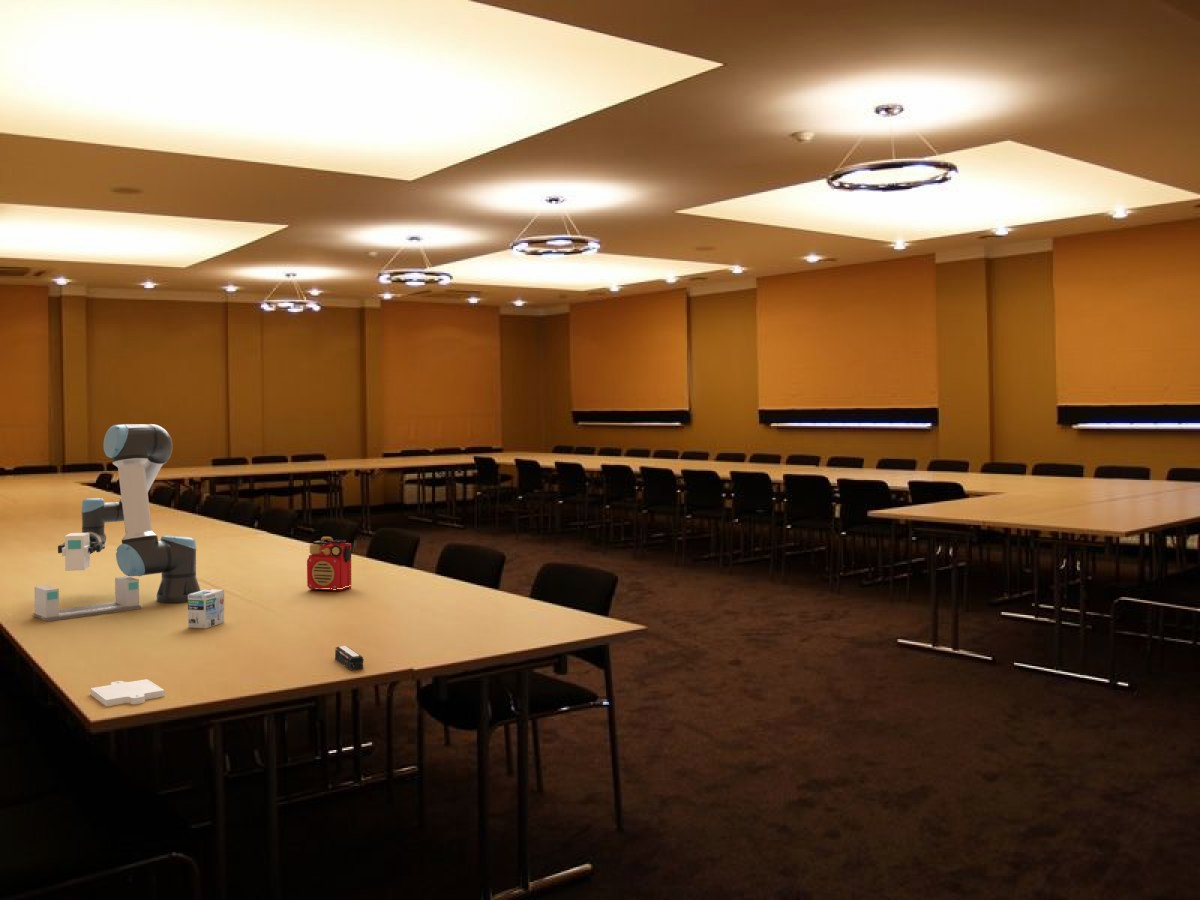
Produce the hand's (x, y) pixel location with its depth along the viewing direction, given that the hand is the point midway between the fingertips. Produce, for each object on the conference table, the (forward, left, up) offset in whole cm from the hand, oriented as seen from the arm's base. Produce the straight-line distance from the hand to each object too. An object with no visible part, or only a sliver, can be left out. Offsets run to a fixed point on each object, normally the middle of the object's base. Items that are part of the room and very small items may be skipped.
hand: (74, 551), depth 343 cm
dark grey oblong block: (-109, +76, -21) cm, 135 cm away
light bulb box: (-53, +26, -20) cm, 63 cm away
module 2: (-16, -5, -20) cm, 26 cm away
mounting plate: (-62, +107, -21) cm, 126 cm away
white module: (+1, -5, -7) cm, 8 cm away
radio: (-78, -39, -20) cm, 90 cm away
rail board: (-6, +4, -20) cm, 21 cm away
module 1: (+3, +14, -19) cm, 24 cm away
